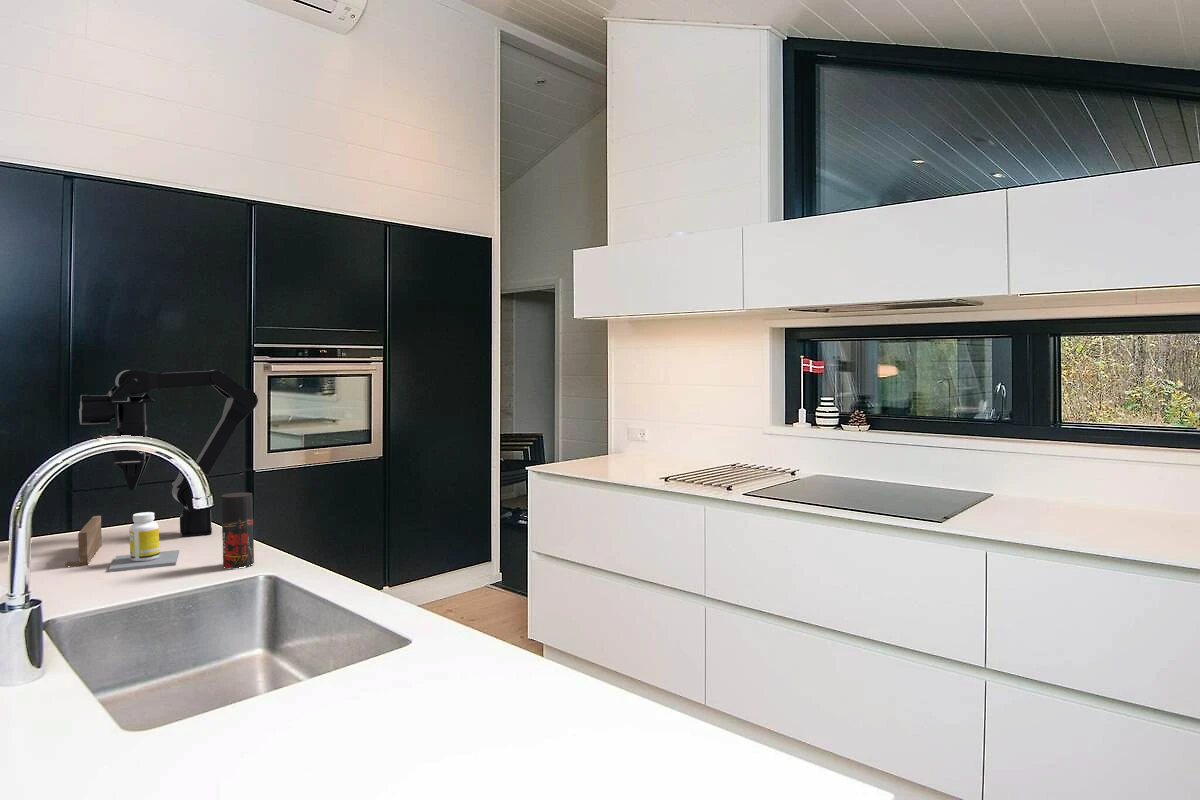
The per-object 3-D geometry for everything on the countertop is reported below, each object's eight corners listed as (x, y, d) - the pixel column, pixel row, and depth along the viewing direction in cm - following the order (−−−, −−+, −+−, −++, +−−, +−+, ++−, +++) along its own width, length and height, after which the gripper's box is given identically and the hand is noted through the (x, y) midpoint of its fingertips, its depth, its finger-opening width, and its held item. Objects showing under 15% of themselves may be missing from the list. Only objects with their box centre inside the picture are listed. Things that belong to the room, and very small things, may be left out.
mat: (179, 552, 172) (179, 549, 172) (175, 565, 161) (175, 562, 161) (116, 558, 167) (116, 555, 167) (108, 571, 156) (108, 569, 156)
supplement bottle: (165, 555, 167) (163, 511, 166) (148, 562, 161) (146, 516, 161) (142, 555, 167) (140, 511, 167) (124, 561, 162) (122, 516, 161)
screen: (102, 545, 179) (101, 515, 179) (88, 565, 161) (86, 532, 161) (81, 546, 178) (80, 517, 177) (65, 567, 160) (64, 534, 159)
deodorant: (216, 566, 160) (215, 495, 159) (241, 560, 165) (240, 491, 165) (235, 570, 157) (233, 498, 157) (260, 563, 163) (258, 493, 162)
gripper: (97, 421, 187) (100, 484, 187) (84, 426, 170) (87, 496, 171) (150, 419, 192) (152, 481, 192) (143, 424, 175) (145, 492, 175)
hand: (133, 487), depth 183 cm, fingers open, 9 cm apart
